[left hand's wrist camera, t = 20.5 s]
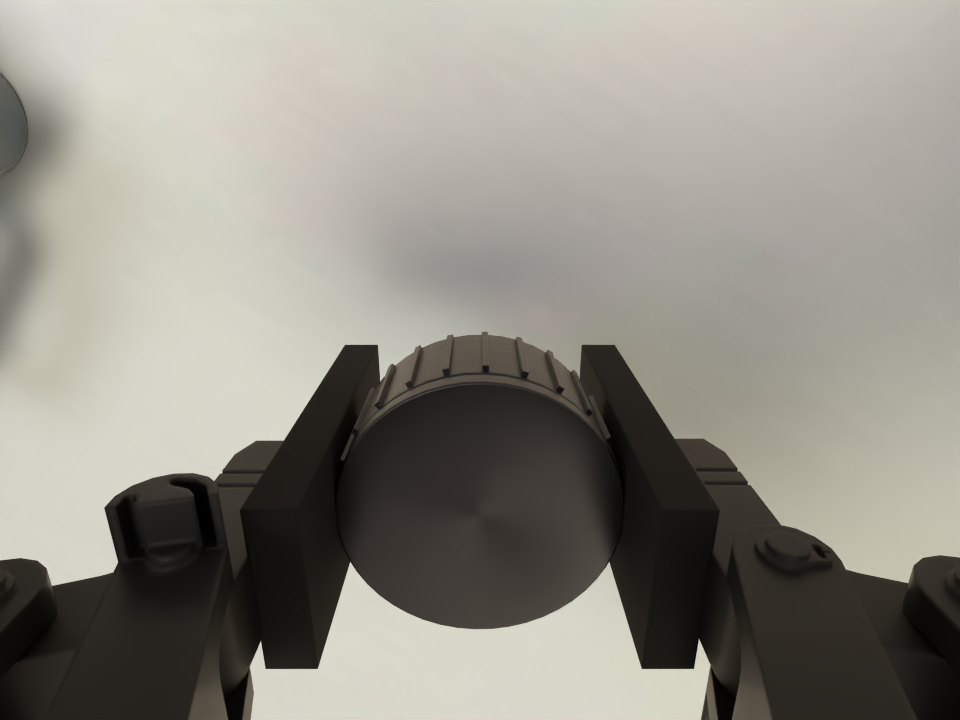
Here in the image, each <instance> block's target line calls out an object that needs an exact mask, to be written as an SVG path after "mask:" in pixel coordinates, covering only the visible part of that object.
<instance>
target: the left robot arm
mask: <svg viewBox="0 0 960 720" xmlns="http://www.w3.org/2000/svg"><path fill="white" fill-rule="evenodd" d="M580 382H581V384H582V387H583V388H584V390H585V392H586V393H587V395H588V397H589V396H591V395H593V397H594V399H595V402H596V404H597V406H598V408H599V411H600V413H601V415H602V418H603V420H604V422H605V424H606V427H607V429H608V431H609V434H610V436H611V438H612V440H613V442H612V443H610V444H609V445H610V447H611V450H612V452H613V455H614V457H615V459H616V462H617V464H618V467H619V469H620V473H621V477H622V481H623V485H624V494H625V504H624V515H623V524H622V532H621V536H620V539H619V542H618V544H617V547H616V549H615V552H614V554H613V555H612V557H611V559H610V561H609V562H610V565H611V568H612V572H613V575H614V578H615V582H616V585H617V588H618V591H619V595H620V598H621V601H622V605H623V608H624V611H625V615H626V618H627V621H628V624H629V628H630V631H631V634H632V638H633V641H634V644H635V648H636V651H637V654H638V657H639V661H640V664H641V667H642V669H694V665H695V659H696V653H697V647H698V640H699V639H700V641H701V644H702V646H703V648H704V651H705V653H706V655H707V658H708V660H709V662H710V664H711V666H710V672H709V678H708V683H707V689H706V694H705V700H704V706H703V711H702V717H701V720H960V558H958V557H949V556H940V555H939V556H933V557H926V558H922V559H921V560H920V561H919V562H918V563H916V564H915V565H914V567H913V570H912V573H911V577H910V580H909V583H904V582H899V581H894V580H889V579H884V578H879V577H875V576H870V575H865V574H860V573H856V572H853V571H849V570H846V569H845V567H844V565H843V563H842V561H841V560H840V559H839V557H838V556H837V555H836V554H835V552H834V551H833V550H832V549H831V548H830V547H829V546H827V545H826V544H824V543H823V542H822V541H820V540H819V539H817V538H816V537H814V536H811V535H809V534H807V533H805V532H802V531H800V530H798V529H795V528H791V527H786V526H782V525H781V524H780V523H779V522H778V521H777V519H776V518H775V517H774V515H773V514H772V513H771V511H770V510H769V509H768V508H767V506H766V505H765V504H764V502H763V501H762V500H761V498H760V497H759V496H758V495H757V493H756V492H755V491H754V489H753V488H752V487H751V485H748V482H747V480H746V479H745V478H744V476H743V475H742V474H741V473H740V472H738V471H737V467H736V466H735V465H734V463H733V462H732V461H731V460H730V458H729V457H728V456H727V454H726V453H725V452H723V451H722V450H720V449H719V448H717V447H716V446H714V445H712V444H711V443H709V442H708V441H706V440H705V439H674V437H673V436H672V434H671V433H670V431H669V430H668V428H667V426H666V425H665V423H664V422H663V420H662V419H661V417H660V416H659V414H658V412H657V411H656V409H655V408H654V406H653V405H652V403H651V401H650V400H649V398H648V397H647V395H646V394H645V392H644V390H643V389H642V387H641V386H640V384H639V383H638V381H637V380H636V378H635V376H634V375H633V373H632V372H631V370H630V369H629V367H628V365H627V364H626V362H625V361H624V359H623V358H622V356H621V354H620V353H619V351H618V350H617V348H616V347H615V345H582V350H581V366H580ZM379 383H380V372H379V357H378V345H345V346H344V348H343V349H342V351H341V352H340V354H339V355H338V357H337V359H336V360H335V362H334V363H333V365H332V366H331V368H330V369H329V371H328V373H327V374H326V376H325V377H324V379H323V380H322V382H321V384H320V385H319V387H318V388H317V390H316V391H315V393H314V395H313V396H312V398H311V399H310V401H309V402H308V404H307V405H306V407H305V409H304V410H303V412H302V413H301V415H300V416H299V418H298V420H297V421H296V423H295V424H294V426H293V427H292V429H291V431H290V432H289V434H288V435H287V437H286V438H285V440H284V441H255V442H254V443H252V444H251V445H249V446H247V447H246V448H244V449H243V450H241V451H240V452H238V453H236V454H235V455H234V456H233V458H232V459H231V460H230V462H229V463H228V464H227V465H226V467H225V468H224V469H223V473H222V474H220V475H219V476H218V477H217V479H216V480H215V481H213V480H212V479H211V478H209V477H207V476H203V475H198V474H194V473H186V474H170V475H165V476H161V477H156V478H152V479H149V480H146V481H144V482H141V483H138V484H136V485H133V486H131V487H129V488H128V489H126V490H124V491H123V492H121V493H120V494H118V495H116V496H115V497H114V498H113V499H112V500H111V501H110V502H109V503H108V504H107V505H106V507H105V512H106V516H107V520H108V524H109V528H110V532H111V536H112V539H113V543H114V547H115V551H116V555H117V559H118V564H117V566H116V568H115V570H114V573H110V574H106V575H103V576H98V577H94V578H89V579H84V580H79V581H74V582H69V583H65V584H60V585H55V586H52V585H51V581H50V578H49V575H48V572H47V569H46V568H45V567H44V566H43V565H42V564H41V563H39V562H38V561H35V560H29V559H22V558H19V559H10V560H1V561H0V720H250V719H251V711H252V703H253V695H254V692H253V684H252V678H251V672H250V664H251V662H252V660H253V658H254V655H255V653H256V651H257V648H258V646H259V644H260V641H261V643H262V649H263V655H264V661H265V667H266V669H318V666H319V663H320V659H321V656H322V653H323V650H324V646H325V643H326V640H327V636H328V633H329V630H330V626H331V623H332V620H333V617H334V613H335V610H336V607H337V603H338V600H339V597H340V593H341V590H342V587H343V584H344V580H345V577H346V574H347V570H348V567H349V564H350V560H349V559H348V557H347V554H346V552H345V550H344V548H343V546H342V543H341V540H340V537H339V533H338V529H337V520H336V510H335V491H336V485H337V480H338V476H339V473H340V470H341V467H342V465H339V461H340V458H341V456H342V453H343V451H344V449H345V446H346V444H347V442H348V439H349V437H350V435H351V432H352V430H353V428H354V425H355V423H356V421H357V418H358V416H359V414H360V411H361V409H362V407H363V404H364V402H365V400H366V397H367V395H368V393H369V391H370V389H371V388H374V389H376V387H377V386H378V385H379Z"/></svg>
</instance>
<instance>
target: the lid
mask: <svg viewBox="0 0 960 720" xmlns="http://www.w3.org/2000/svg"><path fill="white" fill-rule="evenodd" d="M612 442H613V440H612V438H611V436H610V434H609V431H608V429H607V427H606V424H605V422H604V420H603V418H602V415H601V413H600V411H599V408H598V406H597V404H596V402H595V399H594V397H593V395H591V396H589V397H588V395H587V393H586V392H585V390H584V388H583V387H582V384H581V382H580V379H579V377H578V374H577V373H576V372H575V371H574V370H573V371H572V372H570V371H569V370H568V369H567V368H566V367H565V366H564V365H563V364H562V363H560V362H559V361H558V360H556V359H555V358H554V356H553V353H552V352H551V351H549V350H547V352H544V351H542V350H540V349H538V348H536V347H534V346H532V345H529V344H527V343H524V342H522V338H519V337H516V339H515V340H514V339H510V338H506V337H501V336H491V335H488V332H482V335H467V336H460V337H453V335H448V336H447V339H445V340H442V341H438V342H435V343H433V344H430V345H428V346H426V347H423V348H422V347H421V346H418V347H416V348H415V351H414V353H412V354H411V355H409V356H407V357H406V358H405V359H403V360H402V361H401V362H399V363H398V364H397V365H396V366H395V365H394V364H391V365H390V366H389V368H388V370H387V373H386V375H385V377H384V378H383V379H382V380H381V382H380V383H379V385H378V386H377V387H376V389H374V388H371V389H370V391H369V393H368V395H367V397H366V400H365V402H364V404H363V407H362V409H361V411H360V414H359V416H358V418H357V421H356V423H355V425H354V428H353V430H352V432H351V435H350V437H349V439H348V442H347V444H346V446H345V449H344V451H343V453H342V456H341V458H340V461H339V465H342V467H341V470H340V473H339V476H338V480H337V485H336V491H335V510H336V520H337V529H338V533H339V537H340V540H341V543H342V546H343V548H344V550H345V552H346V554H347V557H348V559H349V560H350V562H351V563H352V565H353V566H354V568H355V570H356V571H357V572H358V574H359V575H360V576H361V577H362V578H363V579H364V581H365V582H366V583H367V584H368V585H369V586H370V587H371V588H372V589H373V590H374V591H376V592H377V593H378V594H379V595H380V596H381V597H383V598H384V599H386V600H387V601H388V602H390V603H391V604H393V605H394V606H396V607H398V608H400V609H401V610H403V611H405V612H407V613H409V614H411V615H414V616H416V617H418V618H421V619H423V620H427V621H430V622H433V623H437V624H440V625H445V626H451V627H456V628H467V629H494V628H502V627H510V626H514V625H518V624H523V623H527V622H530V621H533V620H535V619H538V618H541V617H544V616H546V615H548V614H550V613H552V612H554V611H556V610H558V609H560V608H562V607H563V606H565V605H566V604H568V603H570V602H571V601H573V600H574V599H575V598H577V597H578V596H579V595H580V594H582V593H583V592H584V591H585V590H586V589H587V588H588V587H589V586H590V585H591V584H592V583H593V582H594V581H595V580H596V579H597V578H598V577H599V575H600V574H601V573H602V571H603V570H604V569H605V567H606V566H607V564H608V563H609V561H610V559H611V557H612V555H613V554H614V552H615V549H616V547H617V544H618V542H619V539H620V536H621V532H622V524H623V515H624V504H625V494H624V485H623V481H622V477H621V473H620V469H619V467H618V464H617V462H616V459H615V457H614V455H613V452H612V450H611V447H610V445H609V444H610V443H612Z"/></svg>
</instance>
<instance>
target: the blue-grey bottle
mask: <svg viewBox="0 0 960 720" xmlns="http://www.w3.org/2000/svg"><path fill="white" fill-rule="evenodd" d="M26 140H27V124H26V118H25V114H24V111H23V108H22V105H21V103H20V101H19V99H18V97H17V95H16V93H15V92H14V90H13V89H12V87H11V86H10V85H9V83H8V82H7V81H6V80H5V79H4V78H3V76H2V75H1V74H0V175H2V174H4V173H6V172H7V171H9V170H10V169H11V168H13V167H14V166H15V164H16V163H17V162H18V161H19V159H20V158H21V156H22V154H23V152H24V149H25V146H26Z"/></svg>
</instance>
